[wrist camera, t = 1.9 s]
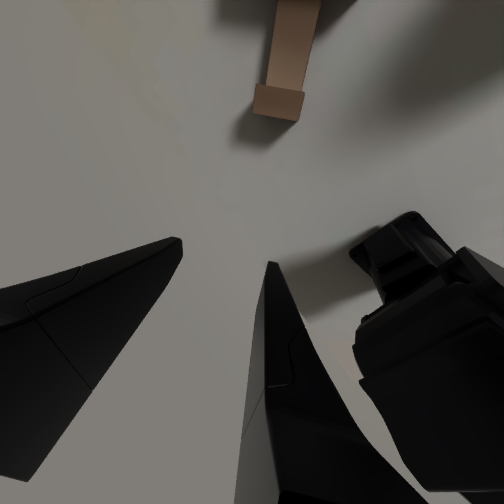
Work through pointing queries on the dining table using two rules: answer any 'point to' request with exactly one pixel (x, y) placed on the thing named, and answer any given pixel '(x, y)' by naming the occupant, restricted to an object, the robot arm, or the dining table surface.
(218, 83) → the dining table surface
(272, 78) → the wooden box with handle
